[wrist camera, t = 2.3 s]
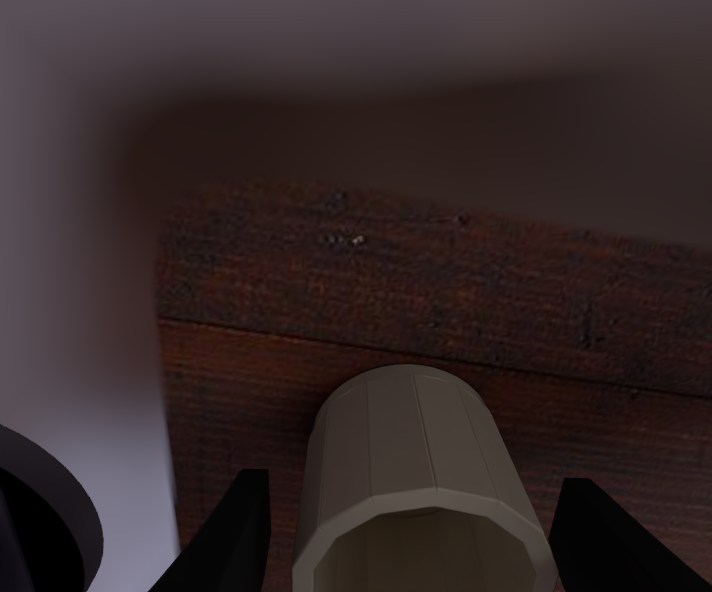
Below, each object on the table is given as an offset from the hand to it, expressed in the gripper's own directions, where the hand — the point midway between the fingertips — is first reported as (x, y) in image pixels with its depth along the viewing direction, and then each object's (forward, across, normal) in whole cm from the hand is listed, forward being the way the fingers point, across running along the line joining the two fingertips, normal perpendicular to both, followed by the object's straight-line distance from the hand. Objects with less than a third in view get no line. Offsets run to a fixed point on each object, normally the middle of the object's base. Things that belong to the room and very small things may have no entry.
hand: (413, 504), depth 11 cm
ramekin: (+2, 0, 0) cm, 2 cm away
